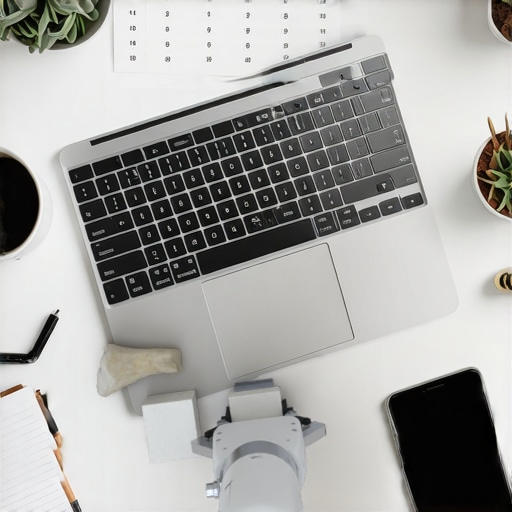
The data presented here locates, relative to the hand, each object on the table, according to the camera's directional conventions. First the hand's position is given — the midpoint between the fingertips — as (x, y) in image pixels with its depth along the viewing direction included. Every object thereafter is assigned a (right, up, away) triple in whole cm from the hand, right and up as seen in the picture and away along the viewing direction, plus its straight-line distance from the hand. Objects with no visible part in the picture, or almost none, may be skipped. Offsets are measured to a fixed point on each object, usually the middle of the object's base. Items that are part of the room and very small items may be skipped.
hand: (257, 414), depth 72 cm
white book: (0, 0, -1) cm, 1 cm away
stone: (-15, +6, +1) cm, 17 cm away
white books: (-11, -1, +2) cm, 11 cm away
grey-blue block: (0, 0, +2) cm, 2 cm away
